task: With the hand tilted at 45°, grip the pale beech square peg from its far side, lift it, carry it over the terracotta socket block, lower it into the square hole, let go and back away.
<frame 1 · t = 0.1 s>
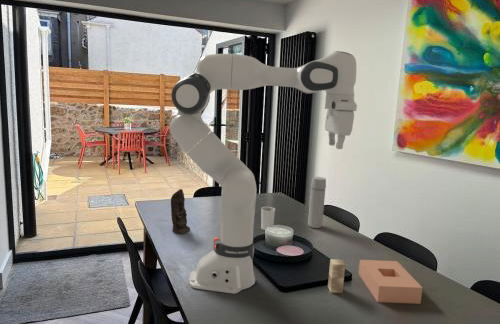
hand: (335, 147, 124), 48 cm above the table, tool pointing down, fingers open, 8 cm apart
socket: (387, 287, 131), on the table
statue: (180, 231, 175), on the table
water bottle: (314, 226, 193), on the table
peg: (334, 289, 128), on the table
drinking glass: (267, 228, 185), on the table
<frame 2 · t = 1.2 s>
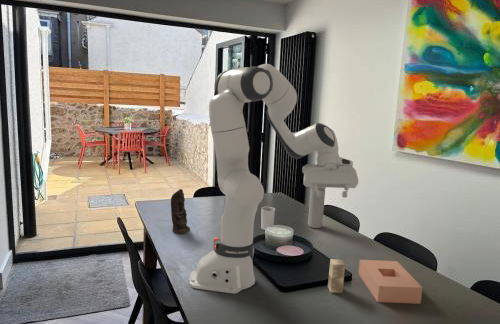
hand: (332, 196, 138), 28 cm above the table, tool tilted 45°, fingers open, 8 cm apart
nothing on the table moved.
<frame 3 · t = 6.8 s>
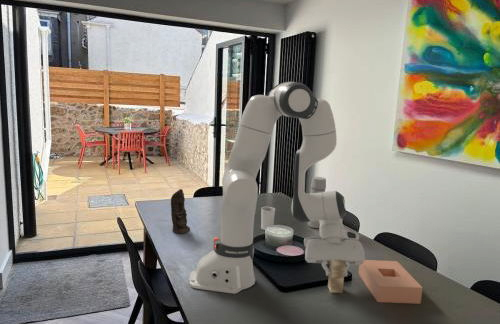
hand: (336, 275, 126), 5 cm above the table, tool tilted 45°, fingers closed on peg, 4 cm apart
peg: (334, 289, 128), on the table, touching gripper
everything else where it was.
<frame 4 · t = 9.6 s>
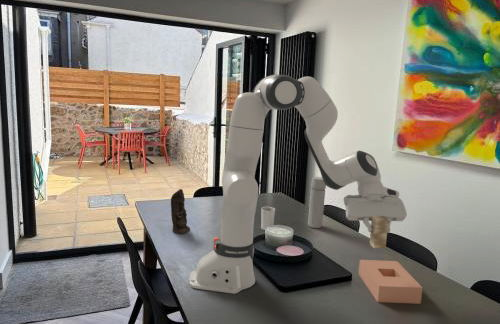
hand: (379, 231, 126), 21 cm above the table, tool tilted 45°, fingers closed on peg, 4 cm apart
peg: (377, 246, 128), point 15 cm above the table, touching gripper
everything else where it was.
when the fingers open (9 cm above the table, at t = 12.8 s): peg drops 3 cm, resting on socket.
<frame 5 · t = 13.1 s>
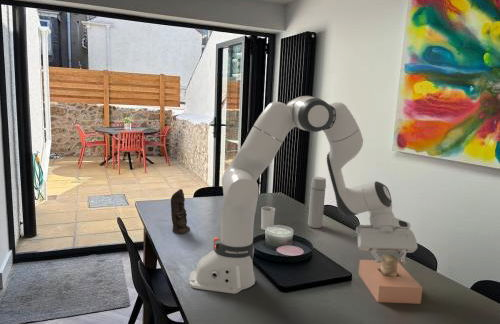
hand: (390, 262, 129), 9 cm above the table, tool tilted 45°, fingers open, 7 cm apart
peg: (387, 284, 131), point 1 cm above the table, touching socket
everything else where it was.
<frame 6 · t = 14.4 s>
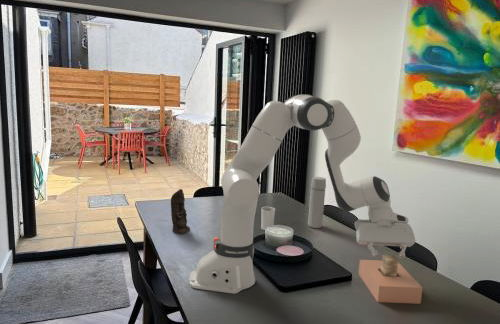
hand: (388, 256, 131), 11 cm above the table, tool tilted 45°, fingers open, 8 cm apart
nothing on the table moved.
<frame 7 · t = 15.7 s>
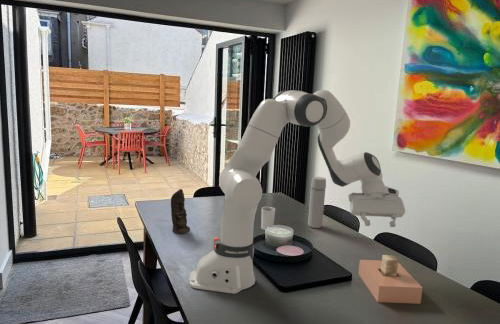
hand: (380, 225, 140), 18 cm above the table, tool tilted 45°, fingers open, 8 cm apart
nothing on the table moved.
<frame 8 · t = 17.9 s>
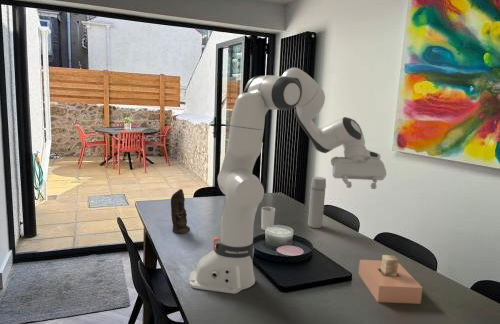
hand: (361, 187, 142), 31 cm above the table, tool tilted 45°, fingers open, 8 cm apart
nothing on the table moved.
at the end: peg 0.1 cm off-centre on the socket, point 1.0 cm above the socket's base; peg tilted 0°; the gripper is holding nothing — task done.
